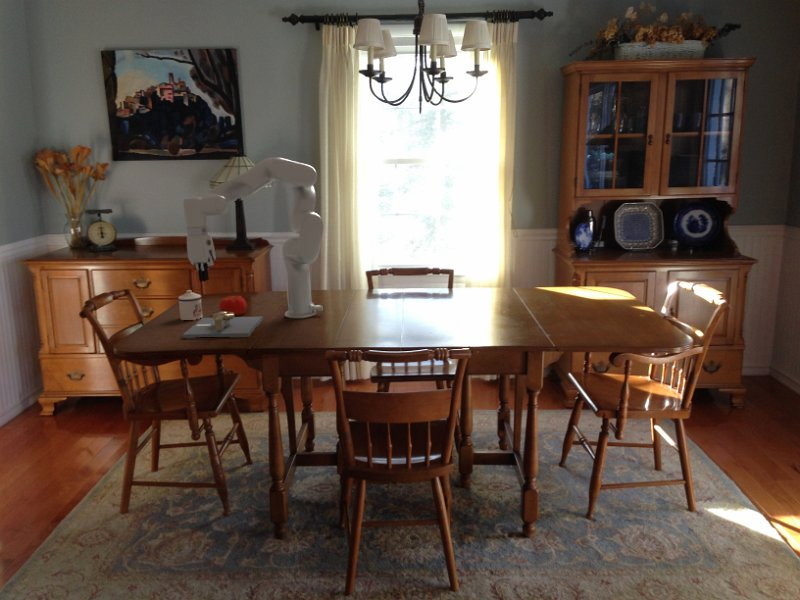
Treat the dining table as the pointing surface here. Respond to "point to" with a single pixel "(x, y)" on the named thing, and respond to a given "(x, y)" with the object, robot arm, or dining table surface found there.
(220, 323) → the lock handle
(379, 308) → the dining table surface
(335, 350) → the dining table surface
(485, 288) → the dining table surface
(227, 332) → the base
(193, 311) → the teacup with lid
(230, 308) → the tomato
